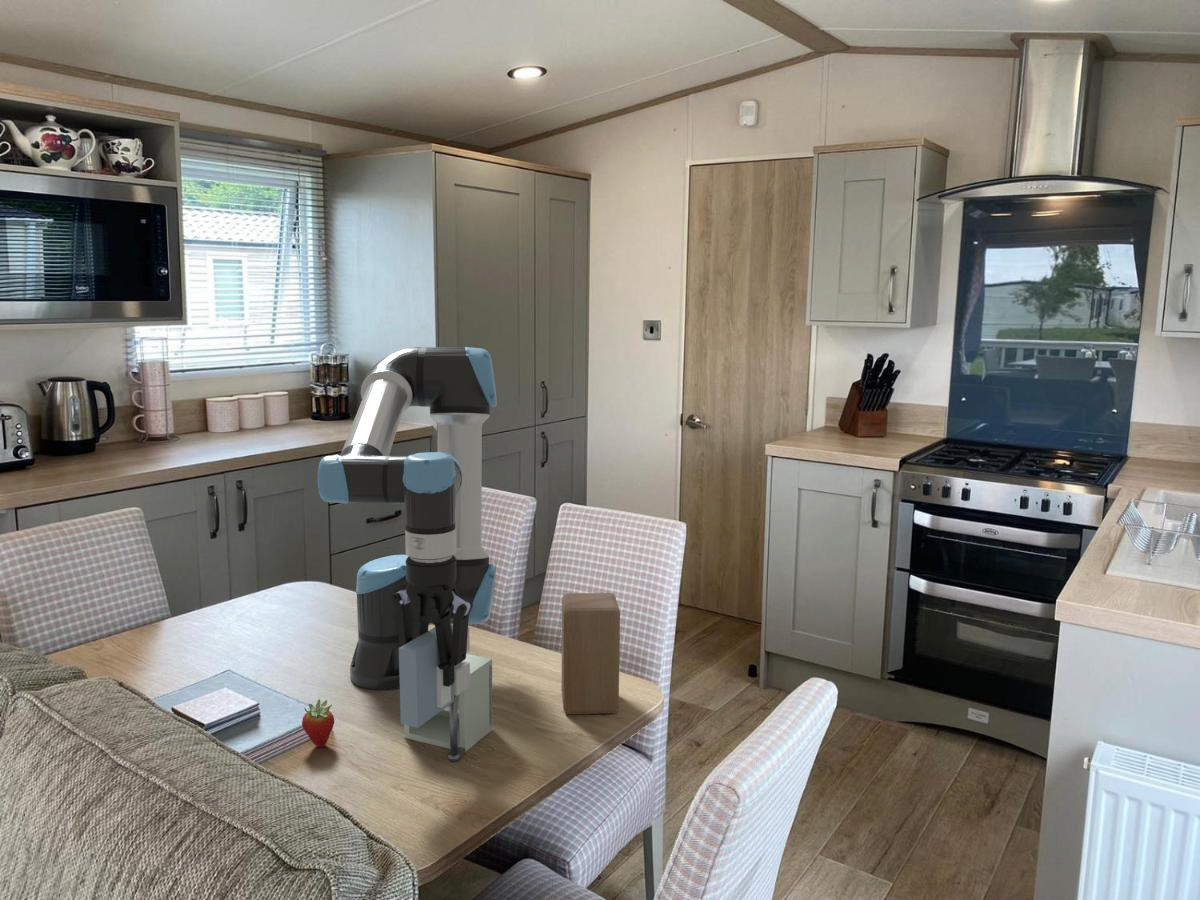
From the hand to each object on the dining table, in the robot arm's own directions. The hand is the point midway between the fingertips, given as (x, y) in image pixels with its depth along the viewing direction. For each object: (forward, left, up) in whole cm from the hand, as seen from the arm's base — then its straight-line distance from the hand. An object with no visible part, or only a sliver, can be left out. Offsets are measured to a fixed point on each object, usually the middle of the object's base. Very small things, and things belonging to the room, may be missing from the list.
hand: (433, 701), depth 145 cm
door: (0, 0, -1) cm, 1 cm away
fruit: (-23, 0, -13) cm, 26 cm away
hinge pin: (0, +6, -12) cm, 14 cm away
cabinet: (-6, +13, -12) cm, 18 cm away
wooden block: (+11, +34, -13) cm, 38 cm away
